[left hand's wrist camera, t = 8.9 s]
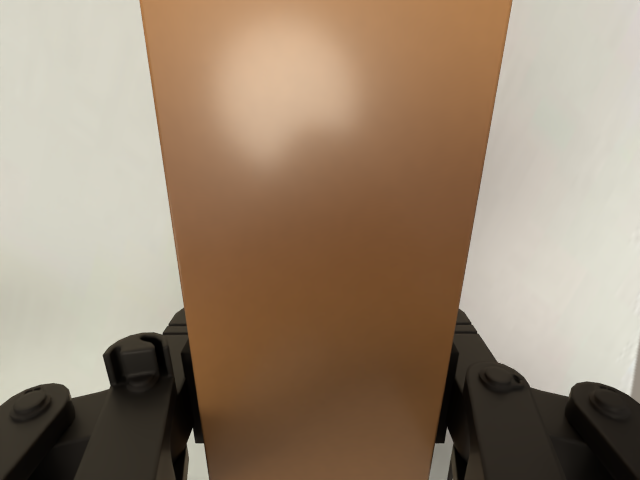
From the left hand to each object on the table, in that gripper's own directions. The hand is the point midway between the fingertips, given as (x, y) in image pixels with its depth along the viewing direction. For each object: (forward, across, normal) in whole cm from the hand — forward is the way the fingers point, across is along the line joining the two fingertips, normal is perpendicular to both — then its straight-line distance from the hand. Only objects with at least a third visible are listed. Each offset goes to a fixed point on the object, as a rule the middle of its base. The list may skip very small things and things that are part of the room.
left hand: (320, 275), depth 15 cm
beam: (0, 0, -23) cm, 23 cm away
